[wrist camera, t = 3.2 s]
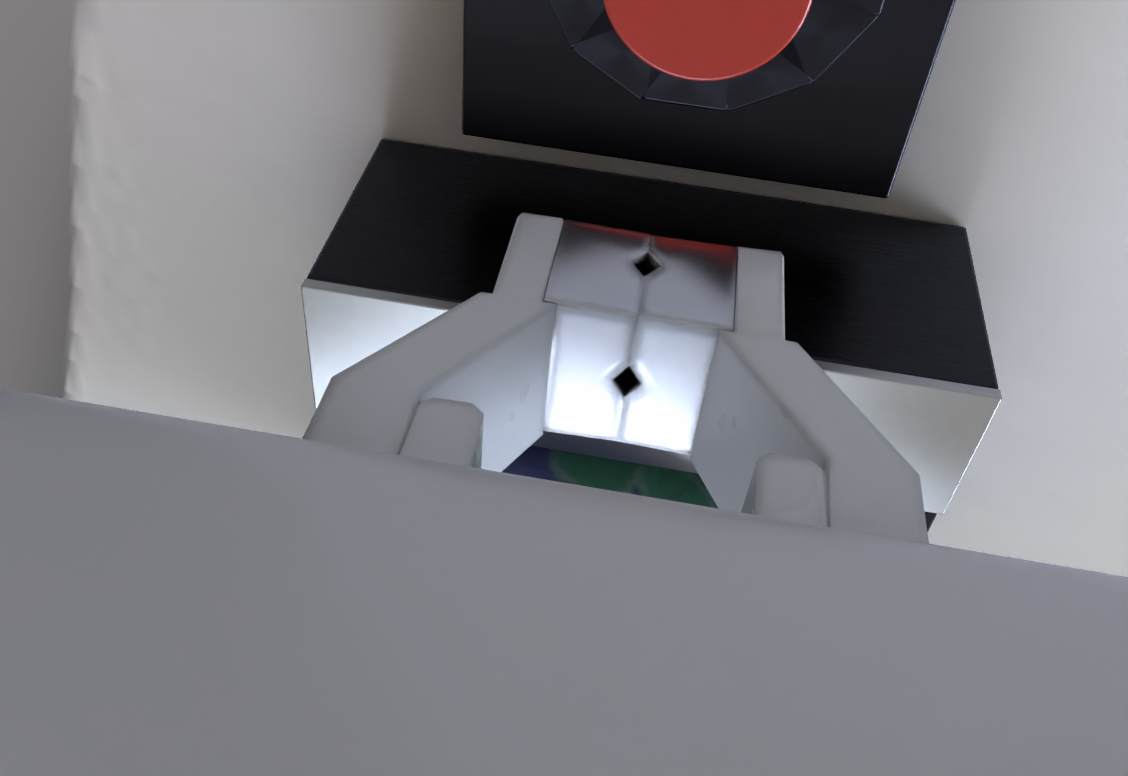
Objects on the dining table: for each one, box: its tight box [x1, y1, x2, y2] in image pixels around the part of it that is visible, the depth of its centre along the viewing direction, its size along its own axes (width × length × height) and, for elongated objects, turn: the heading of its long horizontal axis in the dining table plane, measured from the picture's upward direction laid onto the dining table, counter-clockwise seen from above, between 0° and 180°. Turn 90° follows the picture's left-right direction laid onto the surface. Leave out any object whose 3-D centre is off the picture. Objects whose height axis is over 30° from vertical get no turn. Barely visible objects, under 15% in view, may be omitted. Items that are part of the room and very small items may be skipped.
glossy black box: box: [301, 139, 1002, 533], centre depth 30 cm, size 14×16×6 cm
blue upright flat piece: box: [502, 446, 718, 508], centre depth 28 cm, size 9×3×11 cm, turn 70°
